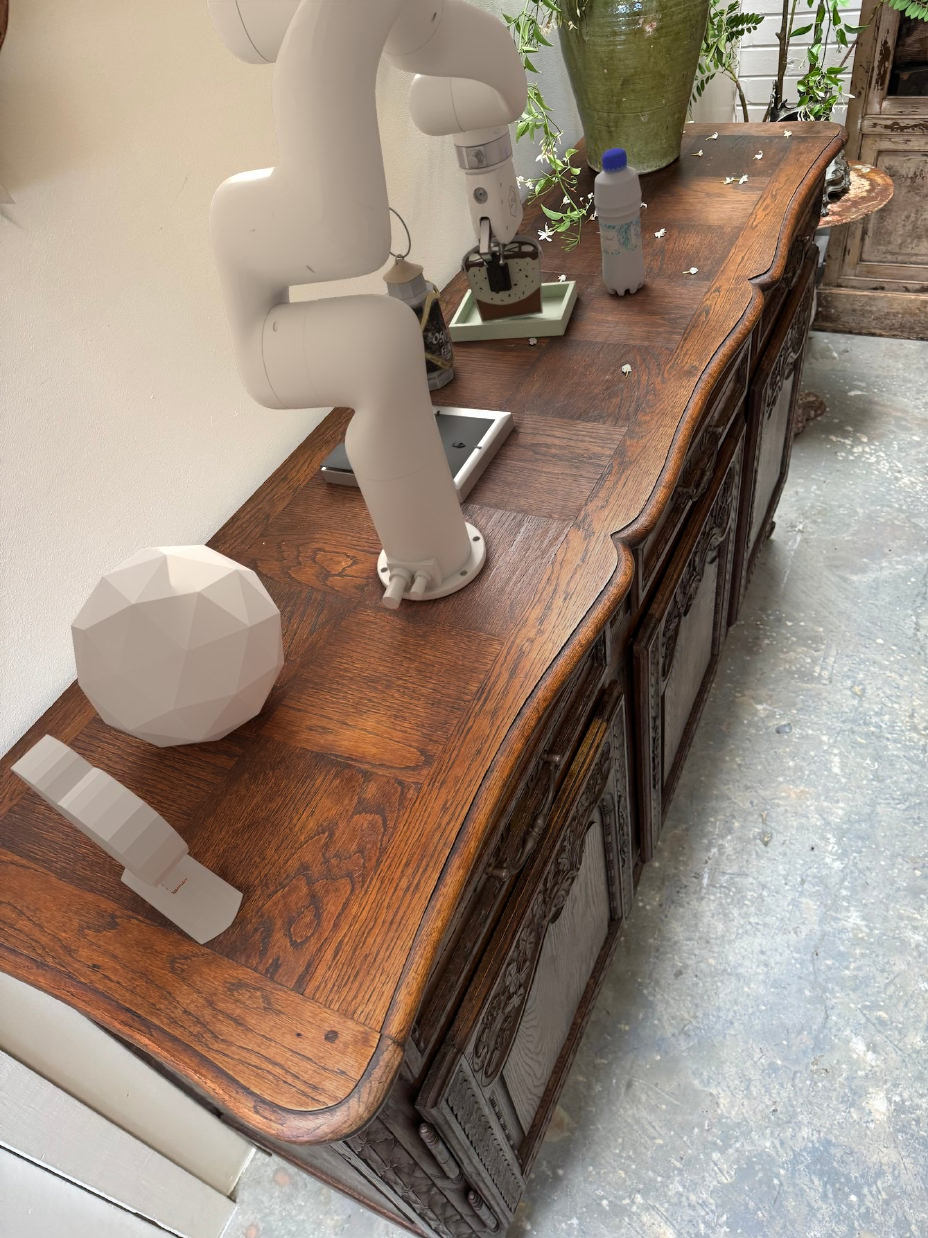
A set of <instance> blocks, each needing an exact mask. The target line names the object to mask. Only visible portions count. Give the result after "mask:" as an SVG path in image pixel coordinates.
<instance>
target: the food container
mask: <svg viewBox="0 0 928 1238" xmlns="http://www.w3.org/2000/svg"><path fill="white" fill-rule="evenodd" d="M491 242H499V241H498V239H497V238H491ZM491 248H492V250H493V252H496V253H497V254H498V256H499V253H498V247H491ZM504 255H505V263H506V262H508V268H509V273H510V279H511V284H512V288H511V290H510V291H501V292H491V291H490V286H489V281H488V276H487V271H486V267H485V265H484V260H483V258H482V256H481V255H480V246H479V245H478V244H477V245H475V246H473V247H472V248H471V249H469V250H468V251H466V253H465V254H464V255H463V257H461V263H460V275H463V274H464V272H465V276H466V279H467V282H468V285H469V289H471V291H472V294H473V297H474V300H475V303H476V306H477V309H478V312H479V315H480V318H481V321H482V322H492V321H498V320H505V319H511V318H517V317H523V316H529V315H535V314H542V313H543V307H542V286H541V284H542V269H541V268H542V267H541V257H542V259H543V261H545V260H546V258H545V255H544V252H543V249H542V247H541V245H540V244H539V241H537V240H536V239H535V238H534V237H532V236H528V235H520V234H518V235H514V237H513V239H512V241H511V242H510V243H509V244H505V243H504Z"/></svg>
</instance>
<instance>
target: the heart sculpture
mask: <svg viewBox="0 0 928 1238" xmlns="http://www.w3.org/2000/svg"><path fill="white" fill-rule="evenodd" d="M9 768H10V769H9V770H11V771H12V772H13V773H14V774H15V775H16V776H17V777H19V779H21V780H22V781H23V782H24V783H25V784H26V785H27V786H29V787H30V788H31V790H33V791H34V792H35V793H36V794H37V795H38V796H39V797H41V798H42V800H44V801H45V802H47V804H49V806H51V807H52V808H54V809H55V810H56V811H57V812H58V813H59V814H61V815H62V816H63V817H64V818H65V819H66V820H67V821H69V822H70V823H71V824H72V825H73V826H74V827H76V828H77V829H78V830H79V831H81V832H82V833H83V834H84V835H85V836H86V837H88V838H89V839H90V840H91V841H92V842H94V843H95V844H96V845H97V846H98V847H100V848H101V849H102V850H103V851H104V852H106V853H107V854H108V855H109V856H111V857H112V858H113V859H114V860H115V861H116V862H118V863H119V864H120V865H121V866H123V867H124V870H123V873H122V875H121V878H120V881H121V882H122V883H124V885H126V886H127V887H128V888H130V889H131V890H132V891H133V892H134V893H136V894H137V895H139V896H140V897H141V898H142V899H143V900H145V901H146V902H147V903H148V904H149V905H151V906H152V907H154V908H155V909H156V910H157V911H158V912H159V913H161V914H162V915H164V916H165V917H166V918H167V919H169V920H170V921H172V923H174V924H175V925H176V926H177V927H179V928H180V929H181V930H182V931H184V932H185V933H186V934H188V936H189V937H191V938H192V939H194V940H195V941H196V942H198V943H199V944H200V945H204V944H205V943H207V942H209V941H211V940H213V939H215V938H216V937H217V936H219V935H221V934H222V933H223V932H225V931H226V930H227V929H228V928H229V927H230V926H232V924H233V922H234V920H235V918H236V917H237V915H238V911H239V909H240V906H241V903H242V900H243V896H244V893H242V892H241V891H240V890H238V889H237V888H235V887H234V886H233V885H231V884H229V882H227V881H226V880H224V879H223V878H222V877H220V876H218V875H217V874H216V873H214V872H213V871H212V870H210V869H208V868H207V867H206V866H204V865H203V864H202V863H200V862H199V861H197V860H196V859H195V858H193V857H192V856H191V855H189V854H188V853H189V852H190V849H189V845H188V844H187V842H186V841H185V840H184V839H183V838H182V836H180V834H179V833H178V832H177V830H175V828H173V826H172V825H170V823H169V822H168V821H166V819H165V818H164V817H163V816H162V815H161V814H160V813H158V812H157V811H156V810H155V809H154V808H153V807H151V806H150V805H149V804H148V803H146V802H145V800H143V799H142V798H140V797H139V796H137V794H135V793H134V792H133V791H131V790H130V789H129V788H127V787H126V786H125V785H123V784H122V783H121V782H119V781H118V780H117V779H116V778H114V777H112V776H111V775H110V774H109V773H107V772H106V771H104V770H102V769H101V768H99V767H95V766H93V765H92V764H91V763H90V762H89V761H87V759H85V758H84V757H82V756H81V755H80V754H79V753H77V751H75V750H73V749H72V748H71V747H69V746H68V745H66V744H65V743H63V742H62V741H60V740H59V739H57V738H55V737H54V736H51V735H49V734H47V733H46V734H45V735H44V736H43V737H42V738H41V739H40V740H39V741H38V742H36V743H35V744H34V745H33V746H32V747H31V748H30V749H29V750H28V751H27V752H26V753H25V754H24V755H23V756H22V757H21V758H20V759H18V760H17V761H16V762H15V763H14V764H13V765H12V766H11V767H9ZM186 878H188V879H187V880H186V881H185V883H184V884H183V885H182V886H181V887H180V888H179V889H178V891H177V892H176V893H175V894H173V893H171V892H173V891H174V890H175V889H177V887H178V886H179V885H180V884H181V883H182V881H184V879H186ZM162 885H163V886H162ZM166 888H167V889H168V890H167V889H166Z"/></svg>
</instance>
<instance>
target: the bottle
mask: <svg viewBox="0 0 928 1238" xmlns="http://www.w3.org/2000/svg"><path fill="white" fill-rule="evenodd" d="M601 164H602V165H601V166H602V171H601V172H599V173H598V174H597V175H596V176H595V178H594V197H593V198H594V199H593V203H594V207H595V210H594V211H595V214H596V216H597V218H598V226H599V227H598V228H599V237H600V246H601V263H602V265H601V268H602V280H603V282H604V285H605V288H606V290H607V292H608V293H609V294H610V295H614V294H616V293H617V294H618V296H619V297H622V296H625V291H626V290H629V293H630V294H634V293H636V292H637V290H638V289H642V287H643V286H644V283H645V279H646V268H645V259H644V252H643V240H642V239H643V237H642V223H641V207H642V204H643V201H642V194H643V193H642V189H641V185H640V184H641V183H640V178H639V173H638V170H637V169H636V168H634V167H633V166H628V157H627V152H626V151H625V150H624V148H621V147H614V148H610V149H608V150H606V151H605V152H604V153H603V155H602V156H601Z"/></svg>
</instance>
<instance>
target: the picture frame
mask: <svg viewBox="0 0 928 1238" xmlns="http://www.w3.org/2000/svg"><path fill="white" fill-rule="evenodd" d="M432 407H433V411H434V415H435V419H436V423H437V426H438V430H439V433H440V437H441V440H442V443H443V447H444V451H445V454H446V458H447V461H448V465H449V468H450V472H451V475H452V479H453V482H454V486H455V489H456V493H457V496H458V500H459V503H462V504H463V503H464V501H465V500H466V498H467V497H468V495H470V493H471V491H472V490H473V488H474V487H475V485H476V484H477V483H478V481H479V479H480V478H481V477H482V475H483V474H484V472H485V470H486V469H487V468H488V466H489V464H491V462H492V460H493V459H494V457H495V456H496V455H497V453H498V451H499V450H500V448H501V447H502V445H503V444H504V443H505V441H506V440H507V438H508V437H509V436H510V433H511V432H512V431H513V429H515V421H514V416H513V413H512V412H508V411H507V412H506V411H498V410H497V411H496V410H485V409H474V408H463V407H454V406H453V407H452V406H441V405H432ZM318 466H319V467H320V468H321V470H320V471H321V473H322V475H323V478H324V480H325V482H326V483H329V484H335V485H343V486H349V487H356V488H360V487H359V485H358V482H357V479H356V477H355V474H354V472H353V469H352V467H351V465H350V462H349V460H348V457H347V453H346V449H345V441H344V442H339V443H338V444H337V445H336V446H335V447H334V448H333V449H332V450H331V452H330V453H329V454H328V455H327V456H326V457H325V458H324V459H323V460H322V462H321V463H320V464H319V465H318Z"/></svg>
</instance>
